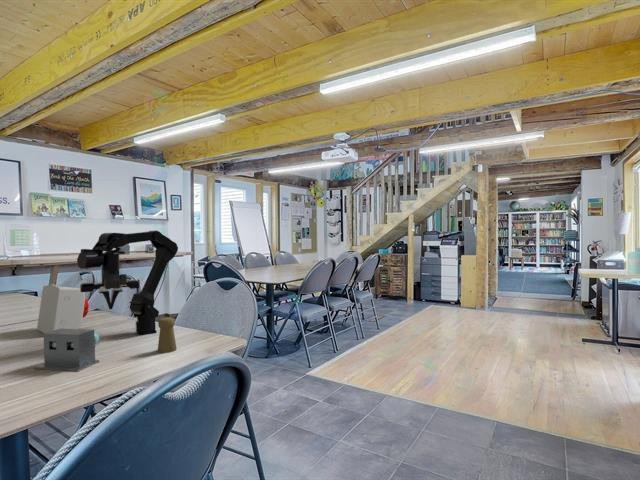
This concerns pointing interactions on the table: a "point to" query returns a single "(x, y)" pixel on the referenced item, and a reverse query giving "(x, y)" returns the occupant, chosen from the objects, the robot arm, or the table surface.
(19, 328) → the table surface
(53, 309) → the electrical switch box
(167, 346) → the olive tapered figurine
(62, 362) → the mount
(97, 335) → the popped knob
